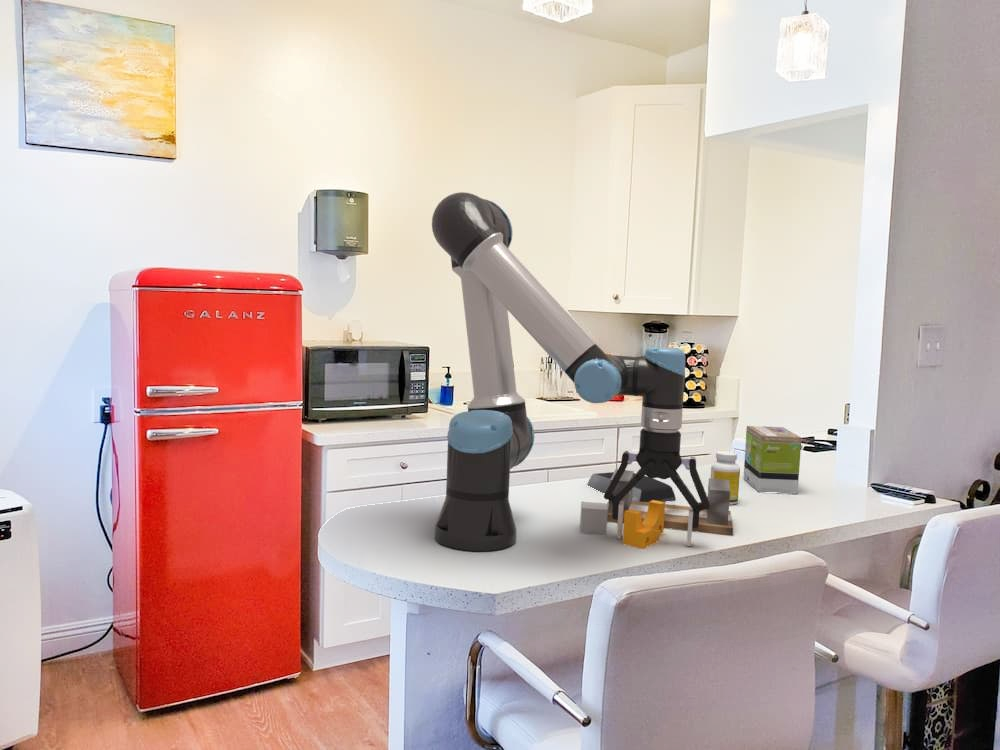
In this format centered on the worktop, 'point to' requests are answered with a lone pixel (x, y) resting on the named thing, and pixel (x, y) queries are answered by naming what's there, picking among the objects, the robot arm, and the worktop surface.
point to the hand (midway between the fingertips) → (653, 540)
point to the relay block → (593, 518)
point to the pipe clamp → (644, 525)
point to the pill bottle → (727, 472)
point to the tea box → (772, 459)
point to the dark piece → (637, 488)
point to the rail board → (684, 508)
